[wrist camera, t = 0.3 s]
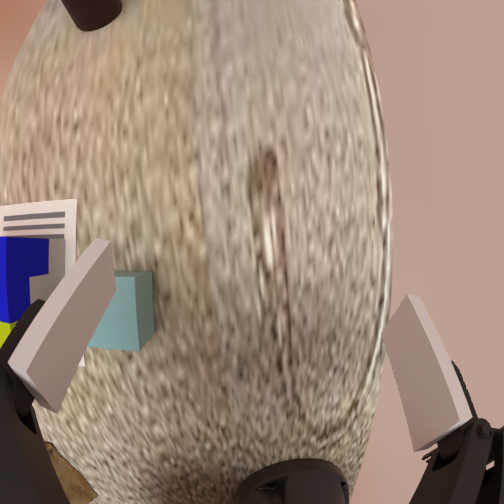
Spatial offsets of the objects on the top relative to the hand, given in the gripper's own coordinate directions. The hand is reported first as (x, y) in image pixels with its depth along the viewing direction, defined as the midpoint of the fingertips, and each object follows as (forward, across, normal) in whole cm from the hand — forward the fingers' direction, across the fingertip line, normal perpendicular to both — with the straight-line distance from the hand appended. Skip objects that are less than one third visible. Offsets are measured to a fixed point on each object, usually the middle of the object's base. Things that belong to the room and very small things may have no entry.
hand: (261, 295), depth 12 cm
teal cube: (+10, +11, +13) cm, 20 cm away
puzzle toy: (+9, +23, +13) cm, 28 cm away
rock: (-6, +20, +36) cm, 42 cm away
